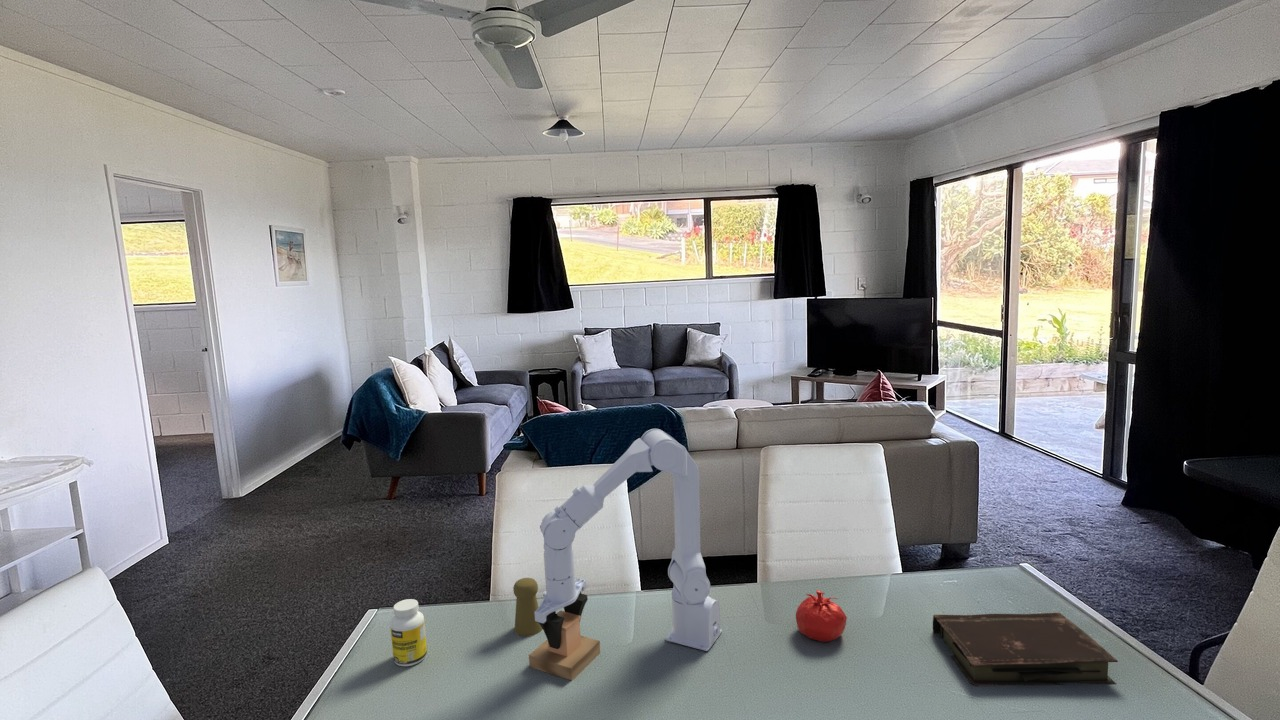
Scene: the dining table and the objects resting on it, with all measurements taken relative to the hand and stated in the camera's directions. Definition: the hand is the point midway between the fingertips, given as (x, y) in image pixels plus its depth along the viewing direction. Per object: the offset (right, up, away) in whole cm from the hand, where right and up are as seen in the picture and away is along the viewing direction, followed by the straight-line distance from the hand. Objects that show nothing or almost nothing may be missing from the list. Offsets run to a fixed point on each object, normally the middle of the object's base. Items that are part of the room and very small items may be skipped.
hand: (564, 638), depth 129 cm
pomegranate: (+52, -2, +6) cm, 53 cm away
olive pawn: (-9, -3, +13) cm, 16 cm away
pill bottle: (-31, -6, +3) cm, 32 cm away
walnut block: (0, -4, +1) cm, 4 cm away
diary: (+87, -2, -5) cm, 87 cm away
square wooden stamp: (0, -2, 0) cm, 2 cm away
